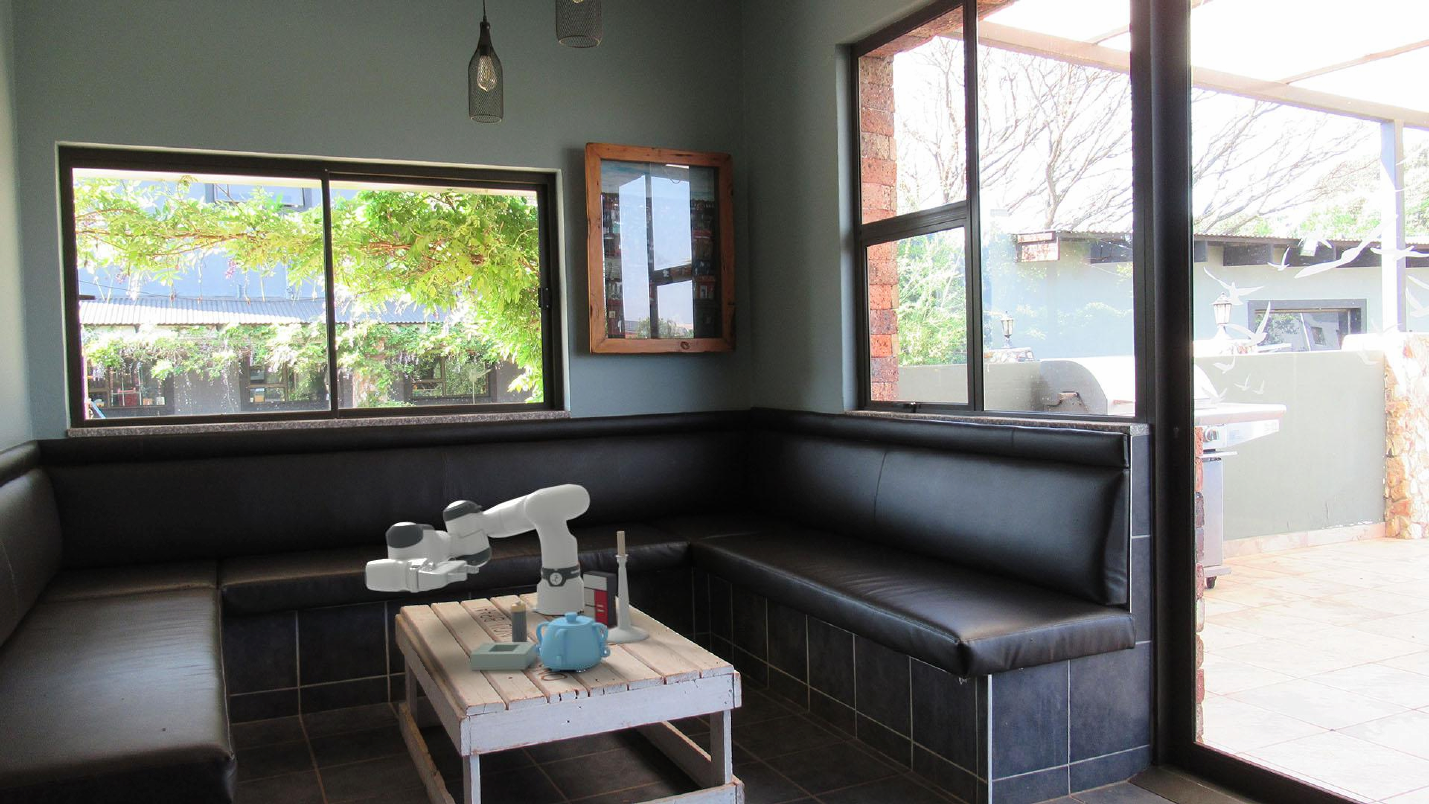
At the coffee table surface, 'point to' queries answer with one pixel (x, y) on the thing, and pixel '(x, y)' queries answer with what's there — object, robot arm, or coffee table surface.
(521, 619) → the battery cell
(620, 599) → the candlestick
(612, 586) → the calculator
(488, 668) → the block
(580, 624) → the decorative pot
